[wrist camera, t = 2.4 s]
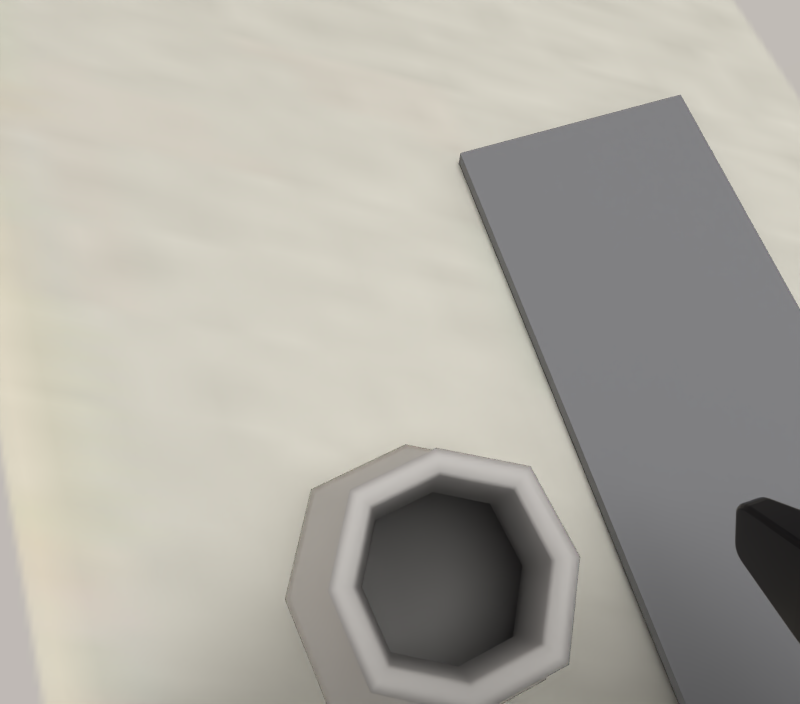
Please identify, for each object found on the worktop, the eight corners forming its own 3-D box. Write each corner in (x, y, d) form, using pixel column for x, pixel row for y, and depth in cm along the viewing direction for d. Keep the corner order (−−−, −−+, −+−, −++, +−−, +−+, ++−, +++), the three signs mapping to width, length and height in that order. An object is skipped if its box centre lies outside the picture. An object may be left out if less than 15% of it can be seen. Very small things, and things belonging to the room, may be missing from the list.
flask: (530, 430, 19) (664, 278, 10) (586, 712, 17) (833, 874, 7) (277, 462, 19) (158, 336, 9) (297, 755, 16) (164, 984, 7)
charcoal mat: (1021, 738, 17) (1040, 742, 16) (739, 852, 16) (749, 860, 15) (674, 104, 23) (680, 94, 22) (458, 162, 22) (460, 153, 22)
